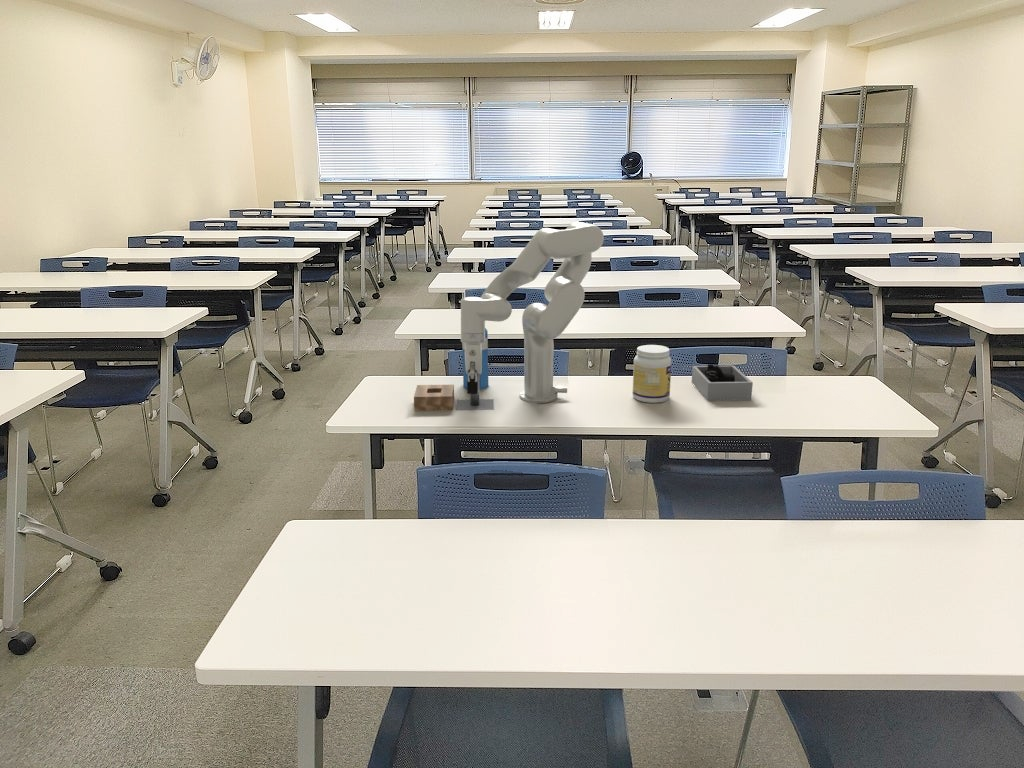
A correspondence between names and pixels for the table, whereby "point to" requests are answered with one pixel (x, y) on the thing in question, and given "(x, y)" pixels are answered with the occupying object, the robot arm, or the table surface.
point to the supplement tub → (652, 374)
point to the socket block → (434, 397)
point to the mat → (484, 405)
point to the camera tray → (722, 385)
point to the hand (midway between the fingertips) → (472, 388)
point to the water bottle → (484, 375)
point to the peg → (475, 396)
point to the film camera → (718, 374)
